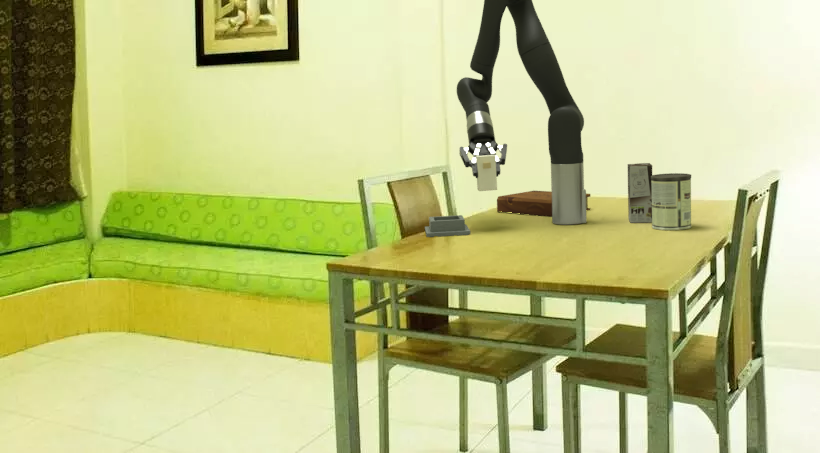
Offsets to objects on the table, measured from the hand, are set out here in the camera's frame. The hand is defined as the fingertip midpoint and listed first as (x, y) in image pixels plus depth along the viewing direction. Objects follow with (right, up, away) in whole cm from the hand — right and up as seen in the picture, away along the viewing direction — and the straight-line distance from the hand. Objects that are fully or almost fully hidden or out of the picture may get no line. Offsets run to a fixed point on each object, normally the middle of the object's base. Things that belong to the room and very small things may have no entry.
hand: (487, 175), depth 236 cm
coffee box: (+44, -13, +8) cm, 47 cm away
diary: (+22, -10, +38) cm, 44 cm away
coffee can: (+49, -15, -7) cm, 51 cm away
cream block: (0, -4, +2) cm, 5 cm away
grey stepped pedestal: (-11, -16, +4) cm, 20 cm away
